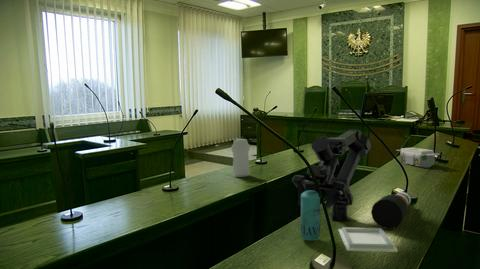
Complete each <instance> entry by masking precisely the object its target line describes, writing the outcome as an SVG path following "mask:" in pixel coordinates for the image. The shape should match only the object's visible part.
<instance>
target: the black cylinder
mask: <svg viewBox="0 0 480 269" xmlns="http://www.w3.org/2000/svg"><path fill="white" fill-rule="evenodd" d="M411 201H412V198H411V197H410V195H409V194H408V193H407V192H404V191H400V192H397V193H396V194H387V195H384V196H383V197H381V198H380V199H378V200H377V201H376V202H374V204H373V205H372V208H371V212H370V213H371V217H372V220H373V221H374V223H375V224H377V226H379V227H380V228H383V229H388V230H391V229H395V228H397V227H398V226H400V224H401V223H402V222H403V221H404V220H405V218H406V217H407V216H408V212H409V206H410V204H411Z"/></svg>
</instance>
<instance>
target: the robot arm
mask: <svg viewBox="0 0 480 269" xmlns="http://www.w3.org/2000/svg"><path fill="white" fill-rule="evenodd" d="M371 146H372V145H371V141H370V139H369V137H368V136H366V135H365V134H363V133H362V132H361V130H359V129H347V131H345V132H344V133H342V134H340V135H339V136H337V137H328V136H324V135H321V136H320V137H319V138H317V139H315V140H314V141H313V142H312V143H311V149H312V151H313V152H314V155H315V156H316V158H317V160H319V163H318V165H314V164H309V165H310V166H311V168H312V170H313V172H314V174H315V176H316V179H317V181H318V183H319V187H320V188H319V189H321V190H324V191H325V197H326V201H325V204H324V206H325V207H326V210H327V211H328V210H329V209H330V208H331V212H329V216H330V218H331V220H332V221H345V222H346V221H351V220H350V217H349V216H348V207H349V206H352V205H353V202H354V196H353V194H352V191H351V187H350V182H351V180H352V178H353V176H354V174H355V171H356V168H357V167H358V164H359V161H360V159H362V158H364V157H366V156H367V154H368V153H369V151H370V150H371ZM347 149H348V151H349V152H348V154H347V157H346V159H345V161H344V163H343V164H342V167H341V169H340V171H339V173H338V175H337V177H335V175H334V173H335V171H336V168H337V166H339V164H340V162H339V157H338V156H343V155H344V154H345V153H346V152H347ZM337 155H338V156H337ZM306 175H309V178H310V179H311V181H314V180H313V177H312V175H311V173H310V170H309V168H308V167H307V171H306ZM306 181H308V179H307V178H306V176H305V175H300V174H299V175H298V174H295V175H294V176H293V177H292V179H291V182H292V184H294V186H295V187H296V189H297V193H298V194H297V205H298V207H301V194H302V193H303V192H304V191H308V190H306V189H304V183H305V182H306Z"/></svg>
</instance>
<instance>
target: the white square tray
mask: <svg viewBox="0 0 480 269" xmlns="http://www.w3.org/2000/svg"><path fill="white" fill-rule="evenodd" d="M337 230H338V233H339V236H340V237H341V240H342V243H343V244H344V245H343V246H344V247H345V250H346V251H347V252H374V253H375V252H376V253H379V252H380V253H398V252H399V251H398V249H397V247H396V246H395V245H394V244H393V242H392V241H391V239H390V237H388V235H387V234H386V232H385V231H384V230H383V229H382V227H347V226H346V227H344V226H342V227H341V228H338V229H337Z"/></svg>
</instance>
